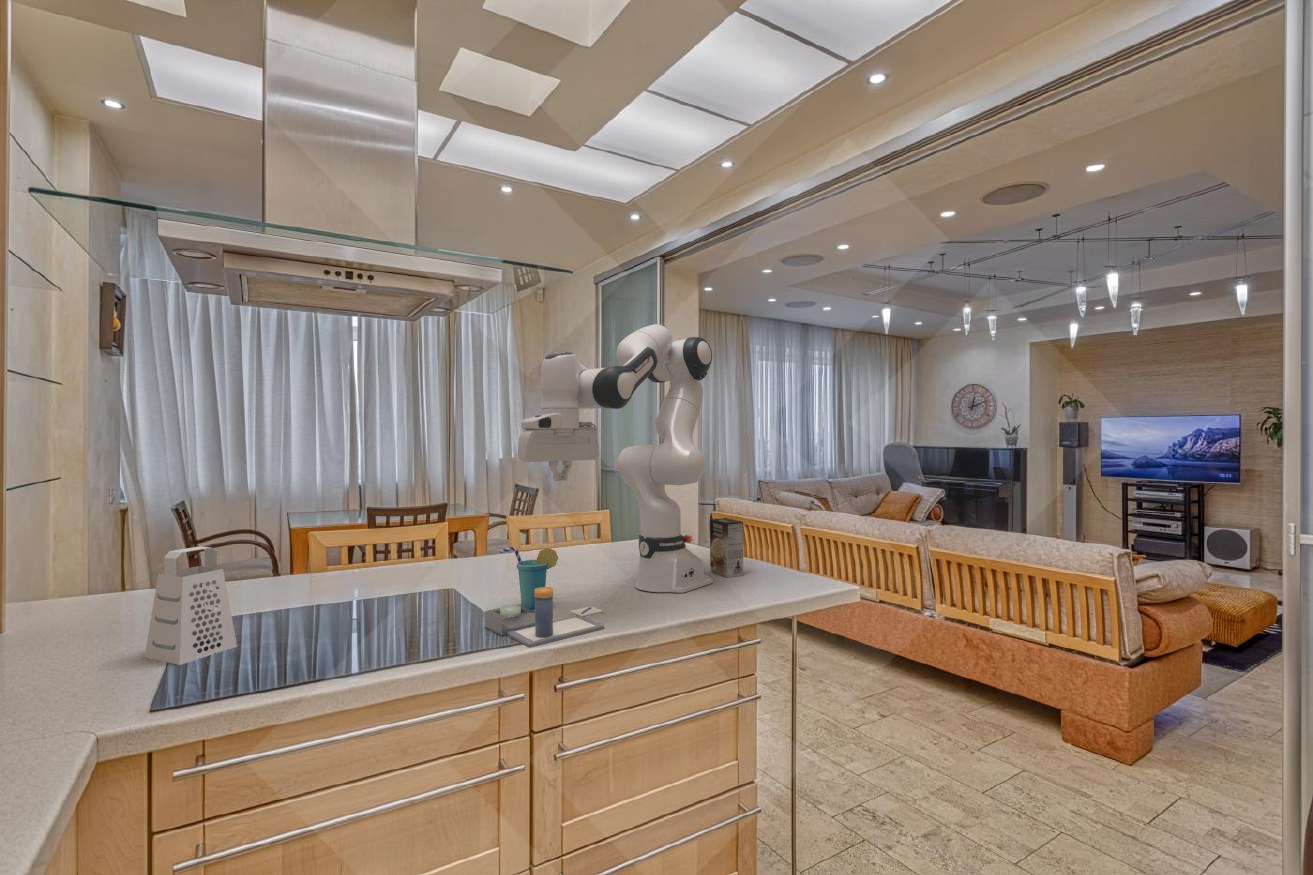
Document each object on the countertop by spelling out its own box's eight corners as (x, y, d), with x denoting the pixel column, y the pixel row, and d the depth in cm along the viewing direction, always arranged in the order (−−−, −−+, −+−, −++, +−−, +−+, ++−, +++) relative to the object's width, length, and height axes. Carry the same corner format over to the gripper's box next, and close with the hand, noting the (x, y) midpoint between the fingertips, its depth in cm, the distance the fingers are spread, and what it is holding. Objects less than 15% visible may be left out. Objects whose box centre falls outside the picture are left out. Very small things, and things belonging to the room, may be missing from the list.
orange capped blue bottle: (547, 630, 130) (547, 586, 130) (557, 635, 127) (556, 589, 127) (531, 634, 127) (531, 589, 127) (540, 639, 124) (540, 592, 124)
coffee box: (708, 572, 187) (708, 519, 187) (726, 569, 191) (725, 517, 190) (727, 578, 179) (726, 522, 179) (744, 575, 183) (744, 521, 182)
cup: (501, 614, 144) (501, 550, 144) (497, 605, 152) (497, 544, 151) (561, 607, 149) (560, 545, 149) (554, 599, 157) (553, 540, 157)
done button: (515, 621, 137) (514, 603, 137) (524, 626, 134) (524, 607, 134) (496, 625, 134) (496, 607, 134) (505, 630, 131) (505, 611, 131)
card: (591, 607, 149) (591, 605, 149) (602, 611, 146) (602, 610, 146) (569, 612, 146) (569, 610, 146) (581, 616, 142) (581, 615, 142)
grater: (237, 646, 123) (236, 546, 123) (179, 665, 113) (178, 556, 113) (202, 640, 127) (201, 543, 127) (144, 657, 117) (143, 552, 117)
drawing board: (578, 618, 141) (578, 615, 141) (604, 628, 133) (604, 625, 133) (506, 634, 129) (506, 631, 129) (529, 647, 122) (529, 643, 122)
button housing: (518, 619, 140) (518, 604, 140) (535, 628, 134) (535, 611, 134) (485, 626, 135) (485, 610, 135) (501, 636, 129) (501, 619, 129)
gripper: (589, 422, 154) (590, 477, 154) (514, 421, 140) (514, 482, 140) (604, 421, 149) (604, 479, 149) (527, 420, 136) (528, 483, 136)
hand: (560, 480), depth 145 cm, fingers closed
